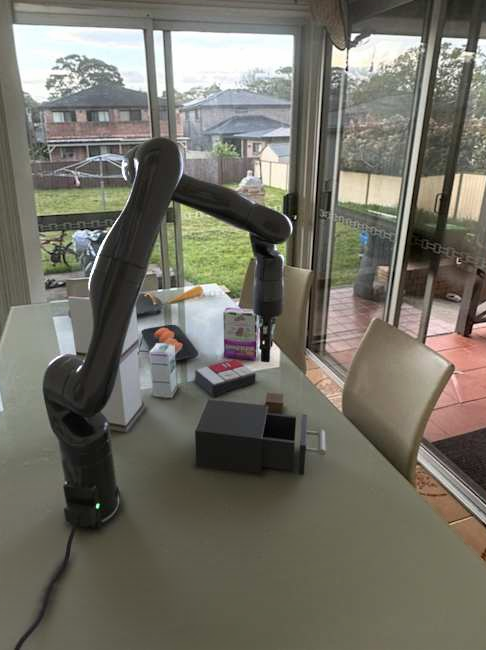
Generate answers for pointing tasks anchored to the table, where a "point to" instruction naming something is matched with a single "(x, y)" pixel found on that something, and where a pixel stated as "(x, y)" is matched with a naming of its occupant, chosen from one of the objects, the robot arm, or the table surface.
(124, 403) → the tall white pillar
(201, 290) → the carrot
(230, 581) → the table surface
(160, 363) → the syrup box
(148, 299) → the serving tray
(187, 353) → the sushi plate
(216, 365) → the calculator
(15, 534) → the table surface
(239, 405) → the cabinet
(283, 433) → the drawer
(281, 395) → the block
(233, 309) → the candy bar box
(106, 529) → the table surface
